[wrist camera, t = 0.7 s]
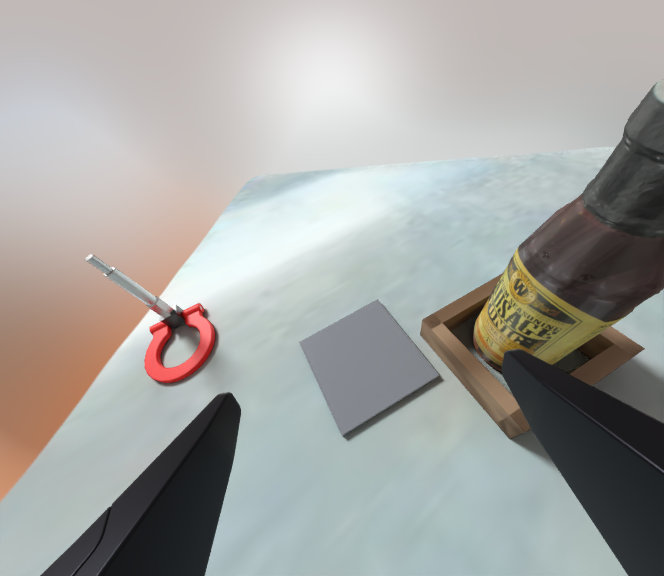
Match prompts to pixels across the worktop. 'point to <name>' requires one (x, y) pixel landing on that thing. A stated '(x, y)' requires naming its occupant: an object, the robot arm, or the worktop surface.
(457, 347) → the holder frame
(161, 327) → the tow hook
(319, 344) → the slate tile
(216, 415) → the robot arm
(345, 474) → the worktop surface
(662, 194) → the sauce bottle
